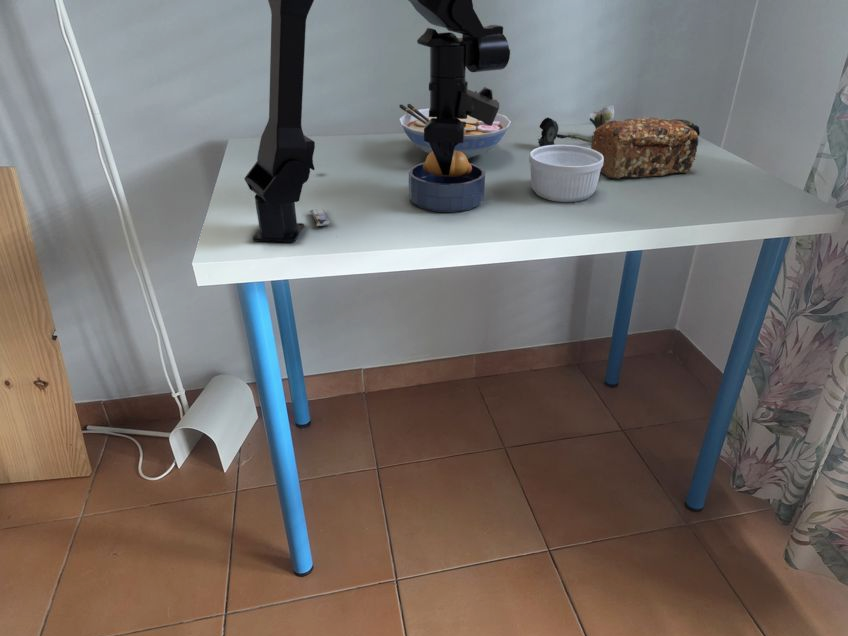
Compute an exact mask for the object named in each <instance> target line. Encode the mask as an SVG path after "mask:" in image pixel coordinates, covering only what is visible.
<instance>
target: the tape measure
mask: <svg viewBox="0 0 848 636" xmlns="http://www.w3.org/2000/svg"><path fill="white" fill-rule="evenodd" d="M672 120H677V121H680V122H683V123H684V124H686V125H687V126H688V127H690V128H692V129H693V130H694V131H696V133H697V135H698V137H699V136H700V133H701V131H700V127H699V126H698V125H696V124H694V122H692V121H689V120H686V119H680V118H679V119H677V118H673V119H672Z"/></svg>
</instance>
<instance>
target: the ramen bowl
mask: <svg viewBox="0 0 848 636" xmlns="http://www.w3.org/2000/svg"><path fill="white" fill-rule="evenodd" d="M399 109H401V110H402V111H404V112H405V114H403V115H402V116H401V117H399V122H400V125H401V126H402V129H403V131H404V133H405V134H406V136H407V137H408V139H409V140H410V142H412V143H413V145H414V146H415V147H417V148H418V149H420V150H421V151H422V152H426V153H427V154H429V153H431V152H432V151H433V150H432V148H431V146H430V144H429V142H425V141H424V128H425V125H426V123H427V122H428V121H429V120H430V119H431V118H436V117H429V109H430V107H428V108H422V109H417V108H416V107H415V106H414V105H412V104H411V103H407V105H406V106H405V105H404V104H399ZM459 120H460V121H464V122H466V127H465V128H464V141H463V143H459V144H458V145H456V146H455V148H454V151H460V152H462V153H464V154H465V156H466V157H467V159H468V160H470V159H472V158H473V157H477V156H480V155H482V154H485V153H487V152H490V151H491V150H492V149H494V148H495V147H496V146H497V145H498V144H499V143H500V142H501V140H502V138H503V137H504V136H505V134H506V132H507V131H508V129H509V127H510V125H511V123H512V121H511V120H510V119H509V118H508V116H506V115H503V114H501V113H498V112H497V114H496V117H495V119H494V122H493V124H492V126H489V125H486V124H484V122H482V121H480V120H477V119H475V118H473V117H470V116H467V119H459Z"/></svg>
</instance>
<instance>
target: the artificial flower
mask: <svg viewBox="0 0 848 636" xmlns="http://www.w3.org/2000/svg"><path fill="white" fill-rule="evenodd" d="M588 116H589V121H590V122H591V123H592V125H593V126H594V128H595V130H596V129H597V128H598V127H599V126H601V125H603V124H605V123H606V122H610V121H613V119H614V116H615V109H614V105H613V104H611V105H609V106H604V107H602V109H600V110H599V111H593V112H591V113H588ZM534 126H535V125H534ZM538 127H539V128H540V129H541V133H540V134H541V137H540V138H537V141H538V142H537V144H538V146H539V147H542V146H548V145H556V144H555V140H556V139H557V138H558V139H566V138H571V139H577V140H581V141H583V142H586V143H591V144H592V140H591V139H587V138H583V137H581V136H578V135H577V136H576V135H570V134H569V135H566V134H561V133H559V124H558V123H557V121H556V120H554V119H553V118H551V117H545V118H544V119H543V120H542V121H541V122H540V124H539V125H538Z"/></svg>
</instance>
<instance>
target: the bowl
mask: <svg viewBox="0 0 848 636" xmlns="http://www.w3.org/2000/svg"><path fill="white" fill-rule="evenodd" d="M469 163H470V162H469ZM423 164H424V162H420V163H418V164H414V165H413V166H412V167H410V168H409V170H408V198H409V200H410V201H411V202H412V203H414V205H415V206H416V207H419V208H421V209H423V210H426V211H431V212H438V213H459V212H465V211H470V210H473V209H474V208H477V207H479V205H481V204H482V203H483V202H484V201H485V185H486V171H485V170H484V169H483V168H482V167H481V166H479V165H477V164H474V163H470V164H471V166H472V171H471V172H470V173H469V174H467V175H464V174H463V175H461V176H459V177H442V176H434V175H432V174H431V173H426V172H425V171H424V169H423Z"/></svg>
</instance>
